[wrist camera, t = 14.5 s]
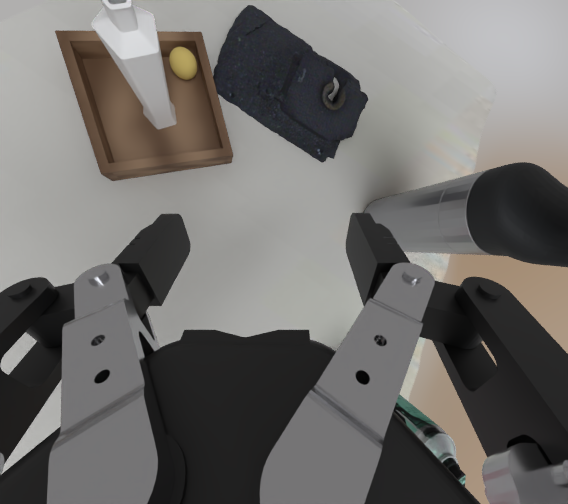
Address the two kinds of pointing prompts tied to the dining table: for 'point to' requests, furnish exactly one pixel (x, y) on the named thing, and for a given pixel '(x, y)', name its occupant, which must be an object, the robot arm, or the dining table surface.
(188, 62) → the ball
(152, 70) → the white faceted vase
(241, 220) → the dining table surface
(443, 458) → the spray can
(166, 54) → the tray
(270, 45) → the dark folded fabric bundle
